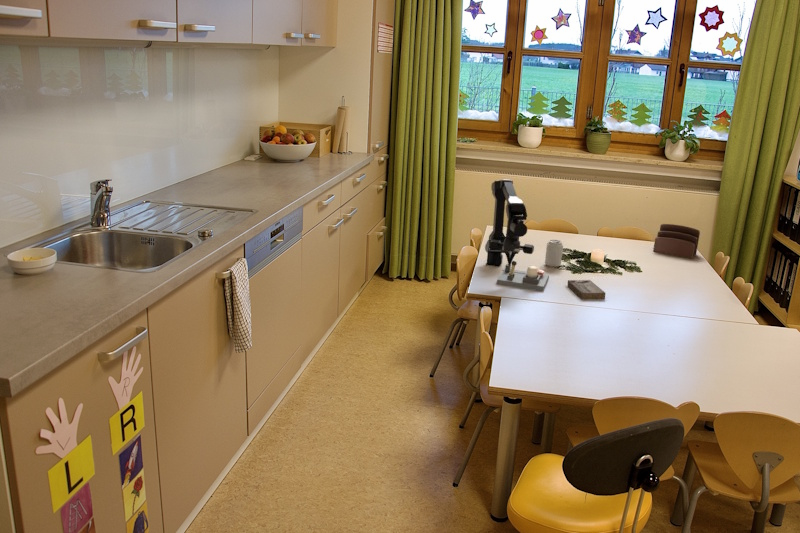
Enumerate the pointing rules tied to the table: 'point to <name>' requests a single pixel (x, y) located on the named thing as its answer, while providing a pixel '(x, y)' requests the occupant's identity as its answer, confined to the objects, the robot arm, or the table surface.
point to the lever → (513, 267)
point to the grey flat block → (586, 289)
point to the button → (532, 272)
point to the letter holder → (677, 240)
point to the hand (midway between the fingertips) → (509, 265)
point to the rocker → (540, 272)
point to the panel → (523, 280)
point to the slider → (508, 268)
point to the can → (554, 253)
